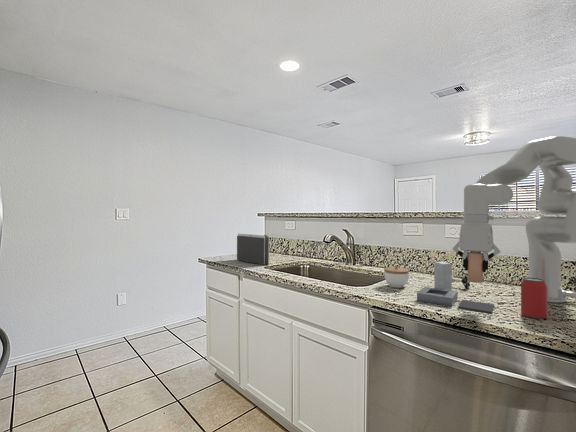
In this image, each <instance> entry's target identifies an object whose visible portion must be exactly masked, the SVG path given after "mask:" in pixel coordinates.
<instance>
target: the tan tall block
mask: <svg viewBox="0 0 576 432" xmlns="http://www.w3.org/2000/svg"><path fill="white" fill-rule="evenodd" d="M467 257H468V270H467V274H468V279H467V281H469V282H470V283H476V284H477V283H478V284H481V283H482V284H483V283H484V272H483V261H484V256H483V252H476V251H469V252H468V255H467Z"/></svg>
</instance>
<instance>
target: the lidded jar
mask: <svg viewBox="0 0 576 432" xmlns="http://www.w3.org/2000/svg"><path fill="white" fill-rule="evenodd" d="M383 271H384V275H383V276H384V279H385V282H386V283H387V285H389V287H391V288H399V289H401V288H404V286H406V284H407V283H408V281H409V276H410V275H409V273H410V269H408V268H406V267H399V266H398V265H395V266H391V267H389V266H388V267H384V269H383Z"/></svg>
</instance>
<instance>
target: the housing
mask: <svg viewBox="0 0 576 432" xmlns="http://www.w3.org/2000/svg"><path fill="white" fill-rule="evenodd" d="M457 300H458V290H453V289H452V290H446V289H438V288H434V287H431V286H423V288H421V289H420V290H419V291H418V292H417V293H416V301H417V302H422V303H428V304H434V305H442V306H448V307H453V306H454V305H455V303H456V302H457ZM453 304H454V305H453Z"/></svg>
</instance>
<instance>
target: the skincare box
mask: <svg viewBox="0 0 576 432" xmlns="http://www.w3.org/2000/svg"><path fill="white" fill-rule="evenodd" d="M452 266H453V265H452V263H450V262H446V261H434V266H433V267H434V268H433V269H434V278H433V279H434V280H433V281H434V286H433V288H438V289H446V290H453V288H452V287H453V286H452V285H453V283H452V276H453V273H452V272H453V271H452V269H453V268H452Z"/></svg>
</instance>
